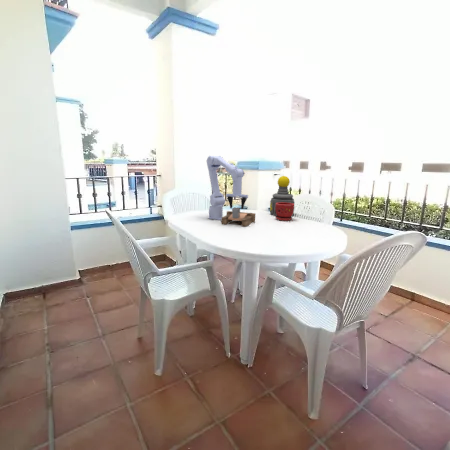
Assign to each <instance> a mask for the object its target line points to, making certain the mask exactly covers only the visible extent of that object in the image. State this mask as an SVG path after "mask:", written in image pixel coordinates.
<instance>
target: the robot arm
mask: <svg viewBox="0 0 450 450" xmlns="http://www.w3.org/2000/svg"><path fill="white" fill-rule="evenodd" d="M206 166H207V169H208V176H209V181H210V186H211V187H210V188H211V191H212V193H211V195H210V196H209V198H210V199H209V204H210V206H209V208H208V219H209V220H218V221H222V217H223V213H224V212H223V209H224V208H223V207H224V205H225V203H226V200H227V201H228V205H229V208H230V209H233V203H234V202H233V200H234V198H240V203H241V206H240V207H241V208H240V210H244V207H245V204H246V201H247V199H248V198H249V195H248V194H242V193H243V192H242V189H243V187H242V186H243V181H242V180H243V177H244V176H245V171H244V170H243V168H238V166H237V165H234V163H233V162H227V161H226V160H224V158H223V156H221V155H209V156H207V159H206ZM220 167H223V168H224V169H225V171H226V172H228V173H229V174H230V175H231V180H232V193H226V194H225V196H226V199H225V197H224V194H223V193H222V192H221V190H220V184H219V180H218V174H217V173H218V172H217V170H218V169H219V168H220Z"/></svg>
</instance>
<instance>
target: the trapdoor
mask: <svg viewBox="0 0 450 450" xmlns="http://www.w3.org/2000/svg"><path fill="white" fill-rule="evenodd" d="M246 216H247V214H244V213H240V217H239V218H233V217H232V214H231V215H230V216H229V217H228V220H238V221H237V222H240V221H242V219H244V218H245V217H246Z"/></svg>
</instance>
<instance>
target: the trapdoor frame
mask: <svg viewBox="0 0 450 450" xmlns="http://www.w3.org/2000/svg"><path fill="white" fill-rule="evenodd" d="M240 213H244V214H247V216H246V217H245V218H244V219H242V221H238V220H228V217H229V216H230V215H231V214H232V210H227V211H226V215H224V216H222V219H221V225H225V226H226V225H228V224H230V223H231V222H241V227H243V228H244V227H246V228H247V227H248V226H249V225H251V224H252V223H253V224H255V223H256V213H255V212H254V213H253V212H245V211H242V212H241V211H240Z"/></svg>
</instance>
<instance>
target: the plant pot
mask: <svg viewBox="0 0 450 450" xmlns="http://www.w3.org/2000/svg"><path fill="white" fill-rule="evenodd" d="M286 208H287V210H286ZM283 209H284V210H283ZM275 210H276V214H277V216H275V219H276V220H278V221H282V222H285V221H286V222H288V221H291V220H292V219H293V217H292V216H293V215H294V213H293V211H294V212H295V203H294V204H293V203H284V202H279V203H276V206H275ZM289 210H290V211H289ZM292 214H293V215H292Z"/></svg>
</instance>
